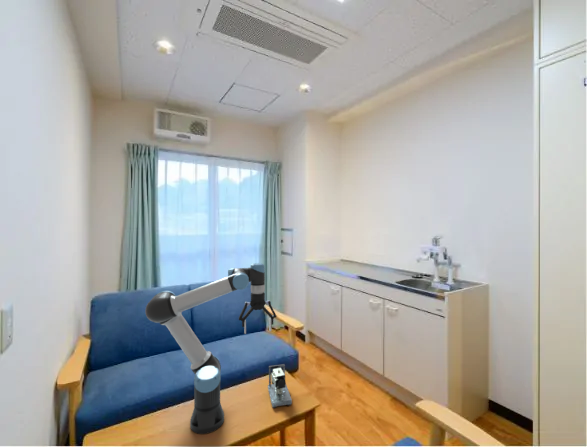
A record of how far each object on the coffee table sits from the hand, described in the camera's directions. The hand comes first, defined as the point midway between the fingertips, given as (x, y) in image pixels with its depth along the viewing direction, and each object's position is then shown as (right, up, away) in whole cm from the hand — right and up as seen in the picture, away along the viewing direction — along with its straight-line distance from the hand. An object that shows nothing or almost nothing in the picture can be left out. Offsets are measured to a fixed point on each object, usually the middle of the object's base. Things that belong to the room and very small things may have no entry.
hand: (257, 331), depth 148 cm
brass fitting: (+8, -35, +13) cm, 38 cm away
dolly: (+12, -35, -2) cm, 37 cm away
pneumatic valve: (+11, -32, -2) cm, 34 cm away
